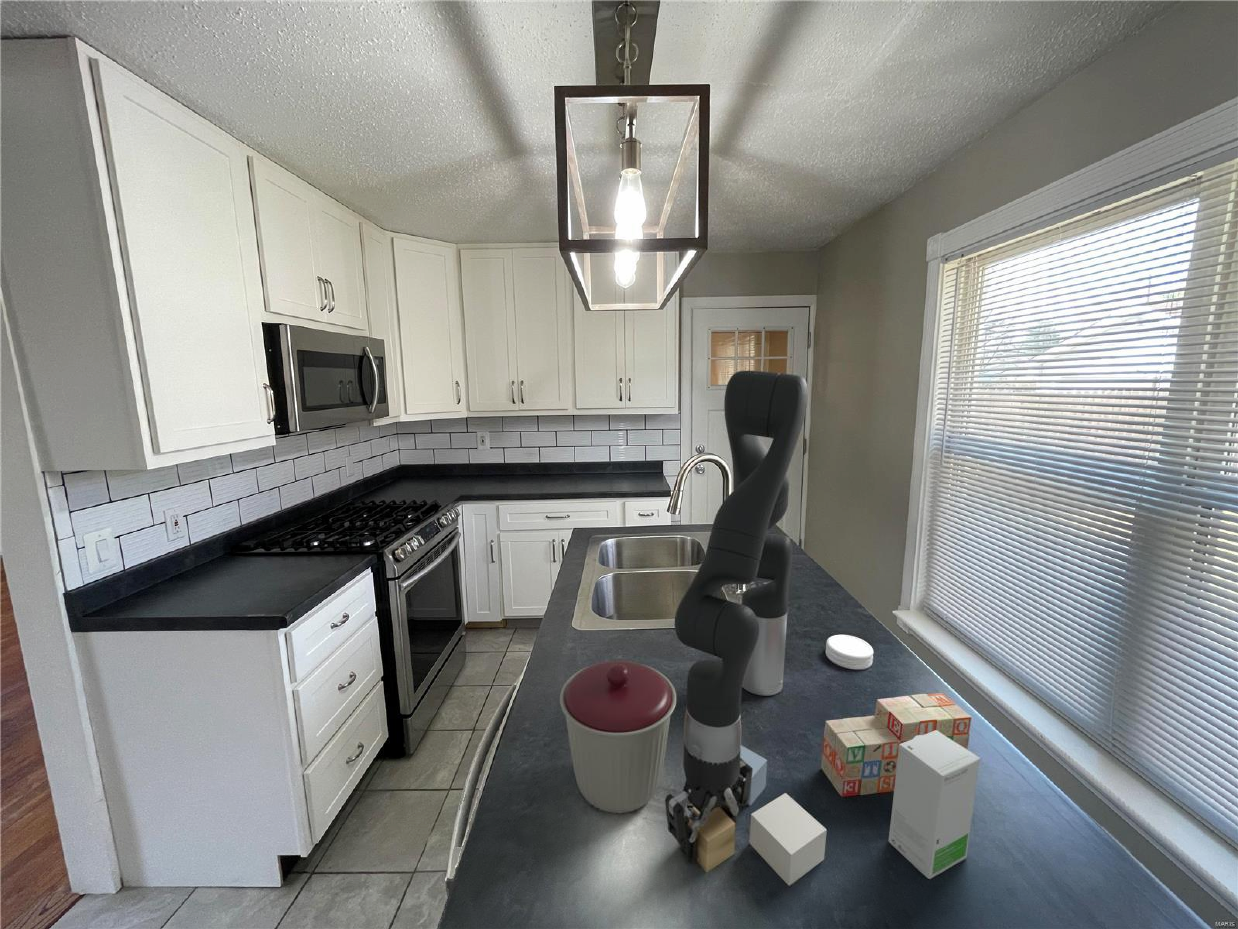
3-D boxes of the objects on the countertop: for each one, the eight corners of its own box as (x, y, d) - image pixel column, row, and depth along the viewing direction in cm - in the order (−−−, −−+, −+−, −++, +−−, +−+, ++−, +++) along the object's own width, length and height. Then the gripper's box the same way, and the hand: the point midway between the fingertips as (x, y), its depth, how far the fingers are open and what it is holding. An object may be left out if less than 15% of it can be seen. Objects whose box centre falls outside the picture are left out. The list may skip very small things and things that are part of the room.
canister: (647, 733, 92) (648, 628, 89) (694, 813, 76) (698, 688, 72) (551, 760, 86) (547, 648, 82) (579, 852, 70) (577, 718, 66)
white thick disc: (851, 644, 123) (852, 631, 122) (882, 667, 114) (883, 652, 113) (816, 650, 120) (817, 637, 120) (845, 674, 111) (846, 659, 110)
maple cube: (682, 843, 71) (683, 813, 70) (709, 827, 74) (710, 797, 73) (706, 873, 67) (707, 841, 66) (733, 854, 69) (735, 823, 68)
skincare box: (928, 882, 65) (942, 778, 63) (883, 839, 71) (894, 743, 69) (969, 857, 69) (984, 758, 66) (923, 819, 75) (935, 726, 72)
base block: (749, 844, 71) (751, 814, 70) (783, 822, 74) (785, 792, 74) (788, 887, 65) (791, 854, 64) (823, 860, 69) (826, 829, 68)
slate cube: (722, 788, 80) (723, 761, 80) (738, 770, 84) (739, 744, 83) (750, 806, 77) (751, 778, 76) (765, 787, 81) (767, 760, 80)
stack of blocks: (841, 799, 78) (847, 729, 76) (820, 768, 84) (825, 703, 82) (963, 783, 81) (972, 716, 79) (934, 754, 87) (942, 691, 85)
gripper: (731, 705, 74) (727, 803, 77) (652, 742, 66) (650, 849, 69) (771, 736, 68) (764, 841, 71) (688, 781, 60) (685, 896, 63)
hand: (708, 844), depth 70 cm, fingers open, 6 cm apart
